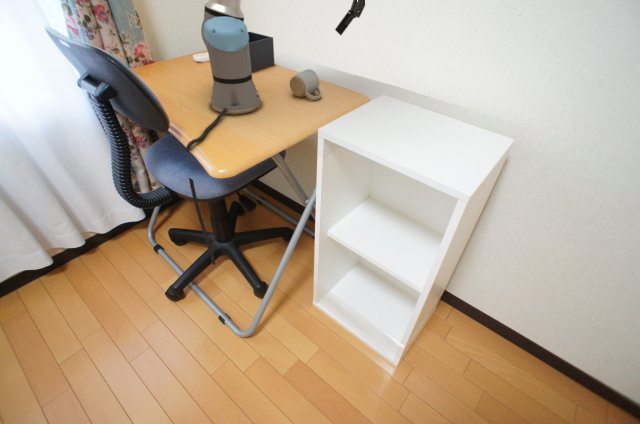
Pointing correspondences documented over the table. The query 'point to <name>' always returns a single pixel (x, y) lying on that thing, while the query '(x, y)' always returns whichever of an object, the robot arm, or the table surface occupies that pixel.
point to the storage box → (261, 51)
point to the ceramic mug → (305, 84)
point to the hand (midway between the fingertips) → (331, 27)
